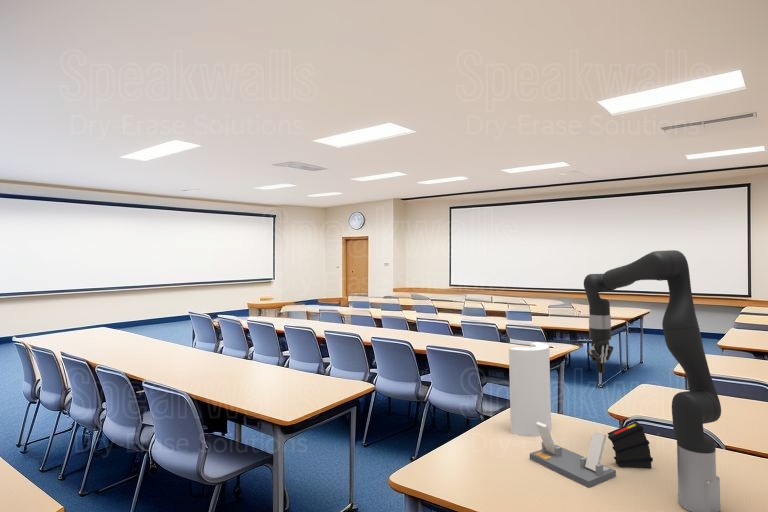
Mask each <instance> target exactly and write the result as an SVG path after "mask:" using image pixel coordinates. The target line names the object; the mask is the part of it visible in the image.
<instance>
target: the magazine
mask: <svg viewBox="0 0 768 512" xmlns="http://www.w3.org/2000/svg"><path fill="white" fill-rule="evenodd" d="M644 430H645V429H644V427H643V426H642V425H641V424H640V423H639V421H636V420H635V421H633V422H631V423H628V424H626V425H623V426H621V427H619V428H617V429H614V430H612V431H610V432H607V438H608V439H609V441H610V442H611V444H612V445H613V446H612V450H613V451H614V455H615V456H613V459H614V461H615V464H616V465H617V467H619V468H634V469H636V468H637V469H638V468H639V469H652V462H654V458H653V457H652V456H651V450H650V449H651V448H650V441H649V440H648V438H647V437H646V433H645V431H644Z"/></svg>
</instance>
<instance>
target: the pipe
mask: <svg viewBox="0 0 768 512" xmlns="http://www.w3.org/2000/svg"><path fill="white" fill-rule="evenodd" d="M508 360H509V362H508V364H509V365H508V366H509V367H508V368H509V407H510V408H509V409H510V411H509V412H510V414H509V416H510V419H509V421H510V434H512V433H513V435H516V434H517V435H516V436H522V435H524V436H523V437H541V436H540V433H539V430H538V428H537V425H536V423H537V422H540V423H543V424H545V425H547V427H548V429H549V432H550V433H551V431H552V411H551V410H552V409H551V407H552V405H551V373H550V372H551V371H550V369H551V368H550V367H551V366H550V363H551V362H550V345H549V344H546V343H544V342H539V341H535V342H532V343H530V344H529V347H519V346H514V347H510V348H508Z"/></svg>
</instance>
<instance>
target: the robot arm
mask: <svg viewBox="0 0 768 512" xmlns="http://www.w3.org/2000/svg"><path fill="white" fill-rule="evenodd" d="M638 281H666V282H667V286H668V292H669V300H668V304H667V305H666V309H665V312H664V314H663V317H662V325H661V326H662V331H663V337H664V342H665V345H666V347H667V349H668V351H669V352H670V354H671V355H672V356H673V358H674V359H675V360H676V362H677V363H678V365H680V367H681V368H682V370H683V371H684V373H685V374H684V375H685V376H686V380H687V384H688V388H689V390H687V391H686V390H685V391H679V392H677V393H676V394H674V396H673V397H672V400H671V417H672V428H673V432H674V436H675V438H676V456H677V457H676V459H677V460H676V461H677V463H676V464H677V498H678V499H677V501H678V504H679V505H680V506H681V507H682V508H683V509H684V510H687V511H689V512H721V479H720V477H719V476H718V475H717V462H716V461H717V454H716V452H717V451H716V449H717V447H716V441H715V439H714V438H712V437H711V436H710V435H708V434H705V432H704V424H710V423H715V422H717V421H718V420H719V419H720V418H721V415H722V405H721V401H720V398H719V394H718V392H717V390H716V389H717V388H716V387H715V384H714V381H713V378H712V375H711V372H710V368H709V365H708V360H707V358H706V357H707V356H706V352H705V349H704V344H703V338H702V334H701V330H700V325H699V322H698V319H697V314H696V308H695V303H694V298H693V293H692V292H693V291H692V285H691V283H692V282H691V275H690V267H689V263H688V260H687V258H686V256H685V255H684V253H682V252H681V251H679V250H675V249H673V250H672V249H670V250H655V251H651V252H649V253H647V254H645V255H643V256H641V257H640V258H638V259H637V260H635V261H632V262H631V263H628V264H625V265H622V266H618V267H614V268H612V269H608V270H607V271H605V272H604V273H589V274H587V275H586V276H585V277H584V279H583V288H584V291H585V294H586V299H587V300H588V304H589V305H588V310H589V311H588V312H589V313H588V314H589V315H588V316H589V317H588V336H589V337H588V338H589V339H591V344H590V348H587V349H586V352H587V353H588V355H589V357H590V359H591V361H592V362H595V363H596V372H597V373H598V374H603V373H605V372H606V365H605V363H607V361H609V360H610V357H611V355H612V353H613V351H614V346H612V345H610V340H612V319H611V303H610V301H609V300H608V299H606V298H601V296H600V293H610V292H613V291H615V290H617V289H620V288H624V287H628V286H630V285H633V284H634V283H635V282H638Z"/></svg>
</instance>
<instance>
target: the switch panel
mask: <svg viewBox="0 0 768 512" xmlns="http://www.w3.org/2000/svg"><path fill="white" fill-rule="evenodd" d="M554 445H555V454H553V453H551V452H548V451H546V448H545V446H544V443H543V441H541V449H539V450H536V451H533V452H530V453H529V460H531V461H533V462H535V463H538V464H540V465H541V466H544V467H545V468H547V469H550V470H551V471H553V472H556V473H557V474H560V475H562V476H564V477H566V478H569V479H570V480H572V481H574V482H576V483H578V484H580V485H582V486H584V487H587V488H588V489H590V488H592V487H595V486H597V485H599V484H601V483H603V482H606V481H609V480H610V479H614V478H615V477H617V470H616V469H615V468H612V467H609V466H606V465H604V464H602V463H600V464H598V465H596V471H594V470H592V469H589V468H587V467H585V465H586V460H587V457H585V456H584V455H581V454H579V453H576V452H574V451H572V450H569V449H567V448H564V447H562V446H561V445H559V444H554Z"/></svg>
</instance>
